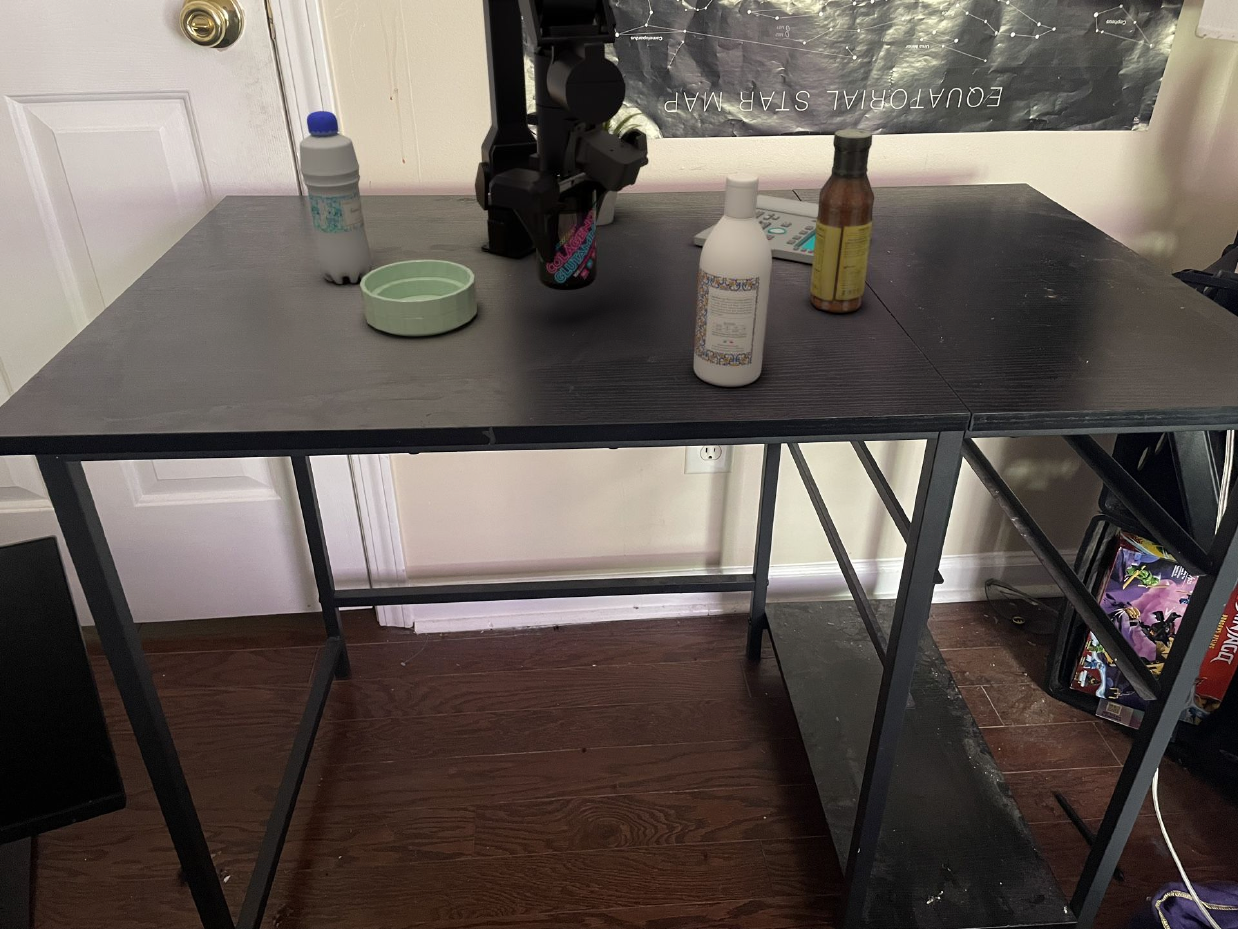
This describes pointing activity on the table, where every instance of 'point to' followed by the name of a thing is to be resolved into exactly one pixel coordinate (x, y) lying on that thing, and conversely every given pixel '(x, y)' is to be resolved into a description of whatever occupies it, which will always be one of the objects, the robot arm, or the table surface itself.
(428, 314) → the bowl
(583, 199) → the supplement container
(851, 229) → the sauce bottle
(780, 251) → the office telephone
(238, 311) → the table surface
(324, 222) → the bottle
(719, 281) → the bath foam
